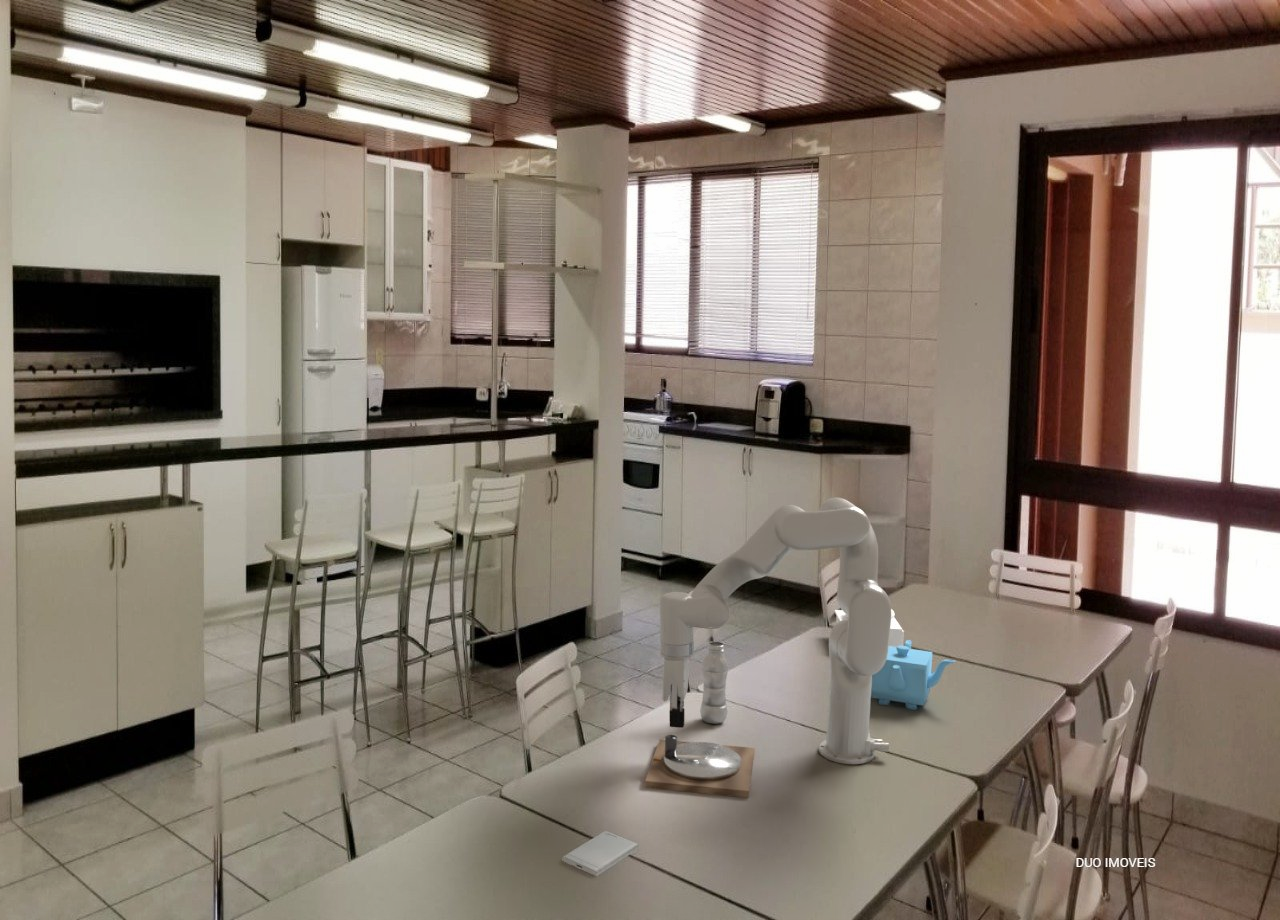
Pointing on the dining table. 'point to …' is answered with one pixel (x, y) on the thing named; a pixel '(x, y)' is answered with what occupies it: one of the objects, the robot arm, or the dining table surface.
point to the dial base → (726, 786)
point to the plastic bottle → (714, 684)
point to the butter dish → (895, 628)
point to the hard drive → (600, 853)
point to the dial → (700, 759)
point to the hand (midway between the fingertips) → (677, 725)
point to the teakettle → (906, 676)
